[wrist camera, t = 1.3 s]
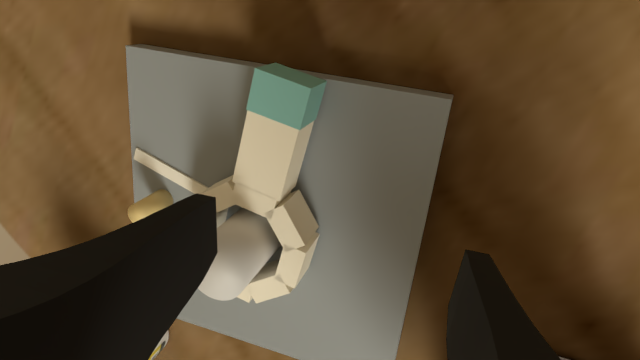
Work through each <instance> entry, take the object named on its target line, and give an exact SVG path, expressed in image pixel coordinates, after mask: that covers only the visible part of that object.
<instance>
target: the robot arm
mask: <svg viewBox="0 0 640 360" xmlns="http://www.w3.org/2000/svg"><path fill="white" fill-rule="evenodd" d="M217 253H218V251H217V219H216V197H212V196H207V195H203V194H198V193H196V194H194V195H191V196H189V197H187V198H184V199H182V200H180V201H178V202H176V203H174V204H172V205H170V206H168V207H166V208H163V209H161V210H159V211H157V212H155V213H153V214H151V215H149V216H147V217H145V218H142V219H140V220H138V221H136V222H134V223H131V224H129V225H127V226H124V227H122V228H120V229H117V230H115V231H113V232H110V233H108V234H106V235H103V236H100V237H98V238H95V239H93V240H90V241H87V242H84V243H81V244H78V245H75V246H72V247H69V248H66V249H63V250H60V251H56V252H52V253H49V254H45V255H41V256H37V257H34V258H30V259H26V260H22V261H18V262H14V263H9V264H4V265H0V360H148V359H149V358H150V356H151V354H152V353H153V351H154V349H155V348H156V346H157V345H158V343H159V342H160V340H161V339H162V337H163V336H164V335H165V333H166V332H167V330H168V329H169V328H170V326H171V325H172V323H173V322H174V321H175V319H176V318H177V317H178V315H179V314H180V312H181V311H182V310H183V308H184V307H185V305H186V304H187V303H188V301H189V300H190V298H191V297H192V296H193V294H194V293H195V291H196V290H197V288H198V287H199V286H200V284H201V283H202V281H203V280H204V278H205V276H206V274H207V272H208V270H209V268H210V267H211V265H212V263H213V261H214V259H215V257H216V255H217ZM446 342H447V358H448V360H569V359H566V358H562V357H559V356H558V355H557V354H556V353H555V352H554V351H553V349H552V348H551V347H550V346H549V344H548V343H547V342H546V341H545V339H544V338H543V337H542V335H541V334H540V333H539V331H538V330H537V329H536V327H535V326H534V325H533V323H532V322H531V320H530V319H529V318H528V316H527V315H526V313H525V312H524V310H523V309H522V307H521V306H520V304H519V303H518V301H517V300H516V298H515V296H514V295H513V293H512V292H511V290H510V288H509V287H508V285H507V283H506V282H505V280H504V278H503V277H502V275H501V273H500V272H499V270H498V268H497V267H496V265H495V263H494V261H493V260H492V258H491V257H490V255H489V254H484V253H480V252H475V251H470V250H465V253H464V256H463V260H462V263H461V266H460V270H459V273H458V276H457V279H456V283H455V286H454V289H453V292H452V296H451V299H450V302H449V305H448V319H447V337H446Z"/></svg>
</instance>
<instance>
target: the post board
mask: <svg viewBox="0 0 640 360" xmlns="http://www.w3.org/2000/svg"><path fill="white" fill-rule="evenodd" d="M126 61H127V79H128V97H129V115H130V133H131V150H132V168H133V186H134V204H133V205H131V206H130V207H129V208H128V216H129V218H130V220H131V221H132V222H133V223H134V222H136V221H138V220H140V219H142V218H145V217H147V216H149V215H151V214H153V213H155V212H157V211H159V210H161V209H163V208H166V207H168V206H170V205H172V204H174V203H176V202H178V201H180V200H182V199H184V198H187V197H189V196H191V195H194V194H196V193H198V194H200V193H202V192H203V191H205V190H206V189H208V188H209V187H211V186H212V185H214V184H215V183H217V182H219V181H221V180H223V179H226V178H228V177H230V176H232V175H234V170H235V166H236V161H237V157H238V152H239V147H240V143H241V138H242V133H243V129H244V124H245V119H246V115H247V110H246V107H247V103H248V98H249V93H250V89H251V84H252V79H253V75H254V70H255V68H257V67H261V66H264V65H268V64H262V63H255V62H249V61H243V60H237V59H231V58H225V57H219V56H213V55H206V54H200V53H194V52H188V51H182V50H176V49H170V48H164V47H157V46H151V45H145V44H136V45H126ZM295 70H298V69H295ZM298 71H300V72H303V73H306V74H309V75H312V76H314V77H317V78H320V79H323V80H325V81H327V83H326V86H325V90H324V93H323V97H322V100H321V104H320V107H319V111H318V114H317V118H316V120H314V123H313V127H312V130H311V134H310V137H309V141H308V144H307V148H306V151H305V155H304V159H303V162H302V166H301V169H300V173H299V176H298V180H297V183H296V186H295V187H294V188H293V189H292V190H291V193H292V192H294V191H297V190H300V192H301V194H302V196H303V198H304V200H305V201H306V203H307V205H308V207H309V209H310V211H311V213H312V215H313V216H314V218H315V220H316V222H317V224H318V226H319V227H318V229H317V230H316V231H315V232H316V233H319V234H320V235H319V238H318V241H317V244H316V247H315V250H314V253H313V256H312V259H311V262H310V265H309V268H308V269H307V271H306V272H305V274H304V275H303V277H302V278H301V280H300V281H299V283H298V284H297V286H296V288H295V289H294V288H293V290H292V291H291V293H289V294H286V295H283V296H279V297H276V298H273V299H270V300H266V301H263V302H260V303H257V304H256V303H255V301H254V299H253V298H252V300H251V301H250V302H249V303H248V302H246V301H244V300H242V299H240V298H238V297H237V296H238V295H239V294H240V293H241V292H242V291H243V290H244V289H245V287H246V286H247V285H248V284H249V283H250V281H251V280H252V279H253V278H254V277H255V275H256V274H257V273H258V272H259V271H260V270H261V268H262V267H263V266H264V265H265V264H267V263H269V262H272V261H275V260H278V259H280V257H281V253H282V250H283V247H282V245H281V243H280V242H279V240H278V238H277V236H276V234H275V232H274V231H273V229H272V227H271V225H270V223H269V222H268V220H267V218H266V217H263V216H261V215H259V214H256V213H254V212H252V211H249V210H247V209H245V208H242V207H240V206H238V205H233V206H231V207H229V208H228V212H227V217H226V221H225V222H224V223H223V224H222V225H220V226H219V227H218V228H217V251H218V253H217V255H216V257H215V259H214V261H213V263H212V265H211V267H210V268H209V270H208V272H207V274H206V276H205V278H204V280H203V281H202V283H201V284H200V286H199V287H198V288H197V290H196V291H195V293H194V294H193V296H192V297H191V298H190V300H189V301H188V303H187V304H186V305H185V307H184V308H183V310H182V311H181V312H180V314H179V315H178V317H177V319H180V320H183V321H186V322H189V323H192V324H195V325H198V326H201V327H204V328H207V329H210V330H213V331H216V332H219V333H222V334H225V335H228V336H231V337H234V338H237V339H240V340H242V341H245V342H248V343H251V344H254V345H257V346H260V347H263V348H266V349H269V350H272V351H275V352H278V353H281V354H284V355H287V356H290V357H293V358H296V359H299V360H395V359H396V354H397V350H398V345H399V341H400V336H401V332H402V327H403V323H404V318H405V314H406V309H407V304H408V300H409V295H410V291H411V286H412V282H413V277H414V273H415V268H416V264H417V259H418V254H419V250H420V245H421V241H422V236H423V232H424V227H425V223H426V218H427V213H428V209H429V204H430V200H431V195H432V191H433V186H434V182H435V177H436V173H437V168H438V163H439V159H440V154H441V150H442V145H443V141H444V136H445V132H446V127H447V123H448V118H449V113H450V109H451V104H452V100H453V95H451V94H445V93H439V92H433V91H427V90H421V89H415V88H409V87H402V86H396V85H390V84H384V83H378V82H372V81H366V80H360V79H353V78H347V77H341V76H335V75H329V74H323V73H317V72H311V71H304V70H298Z"/></svg>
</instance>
